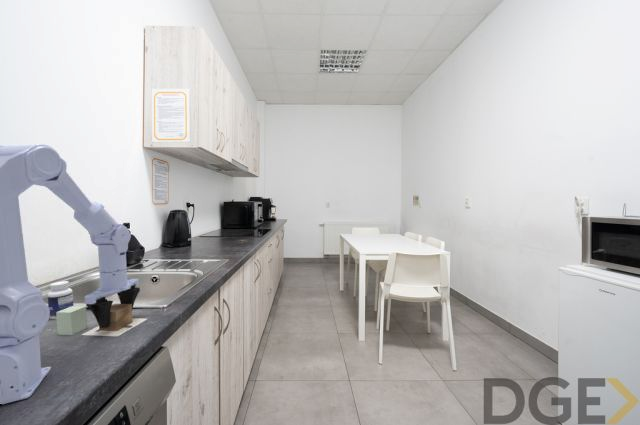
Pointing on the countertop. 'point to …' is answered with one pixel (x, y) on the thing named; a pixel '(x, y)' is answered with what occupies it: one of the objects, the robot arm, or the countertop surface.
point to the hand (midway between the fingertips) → (116, 321)
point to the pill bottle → (59, 298)
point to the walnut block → (119, 317)
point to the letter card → (114, 333)
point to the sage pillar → (71, 320)
